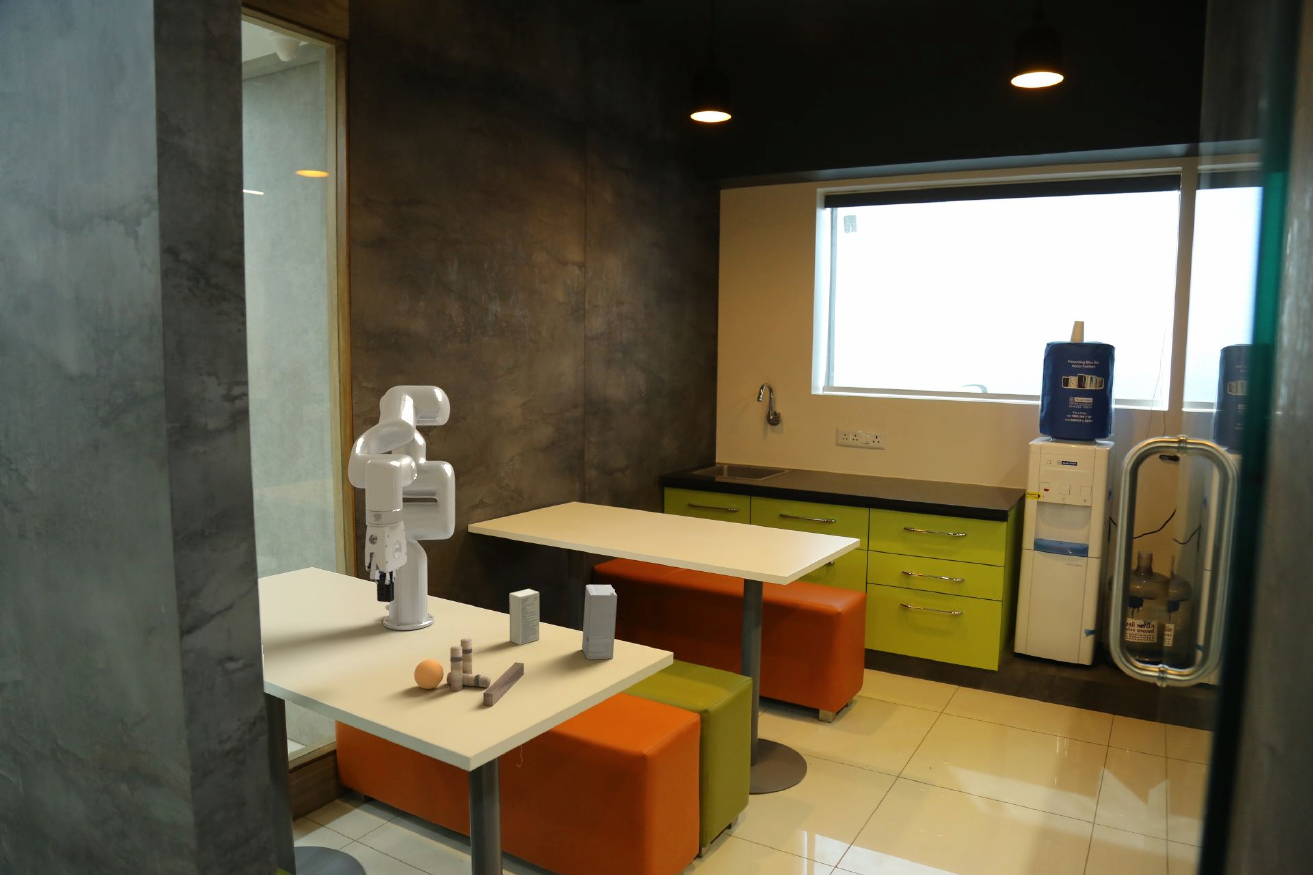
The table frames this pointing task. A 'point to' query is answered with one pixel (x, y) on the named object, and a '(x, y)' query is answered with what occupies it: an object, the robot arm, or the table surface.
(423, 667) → the ball
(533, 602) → the skincare box
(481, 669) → the table surface
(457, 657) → the back pin right
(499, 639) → the table surface
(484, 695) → the back wall
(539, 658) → the table surface
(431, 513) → the robot arm
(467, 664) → the back pin left
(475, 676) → the front pin
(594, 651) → the skincare box
